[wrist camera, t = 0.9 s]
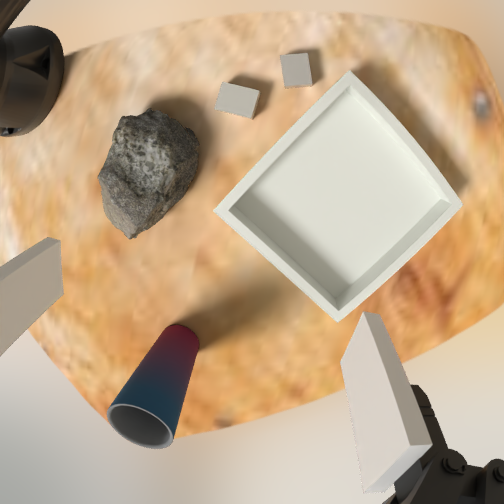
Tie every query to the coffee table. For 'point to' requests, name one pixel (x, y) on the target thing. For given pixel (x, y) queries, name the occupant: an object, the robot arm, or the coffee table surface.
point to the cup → (156, 390)
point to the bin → (341, 199)
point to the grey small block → (237, 100)
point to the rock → (146, 170)
